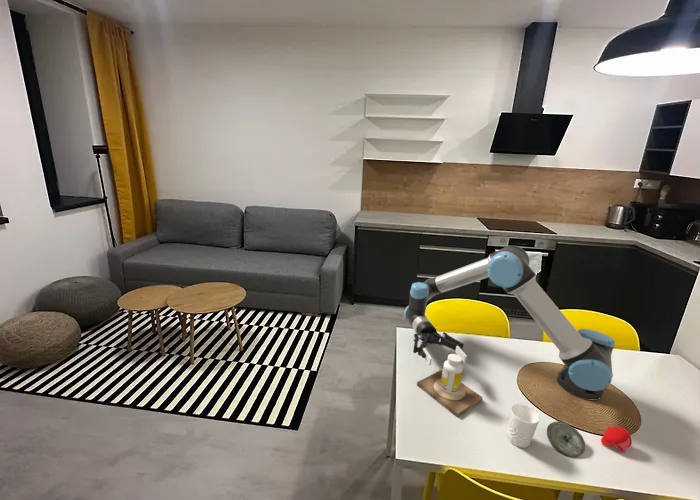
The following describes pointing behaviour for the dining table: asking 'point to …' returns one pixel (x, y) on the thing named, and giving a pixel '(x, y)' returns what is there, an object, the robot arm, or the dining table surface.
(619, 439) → the cap
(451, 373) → the supplement bottle
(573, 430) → the lid
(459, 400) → the walnut board
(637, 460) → the dining table surface
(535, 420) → the white cup
